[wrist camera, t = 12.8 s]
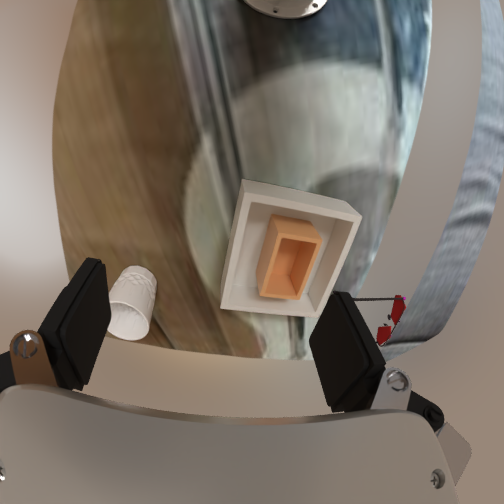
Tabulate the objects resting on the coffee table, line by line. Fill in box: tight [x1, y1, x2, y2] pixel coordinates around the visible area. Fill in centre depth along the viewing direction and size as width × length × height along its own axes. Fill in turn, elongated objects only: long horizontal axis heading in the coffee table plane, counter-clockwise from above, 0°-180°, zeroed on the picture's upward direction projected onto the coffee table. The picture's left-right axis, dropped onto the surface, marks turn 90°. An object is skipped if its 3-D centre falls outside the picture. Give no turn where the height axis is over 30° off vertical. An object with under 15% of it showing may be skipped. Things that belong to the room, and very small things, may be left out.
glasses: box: [333, 291, 406, 347], centre depth 51 cm, size 14×16×5 cm
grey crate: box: [220, 179, 362, 317], centre depth 39 cm, size 18×16×6 cm
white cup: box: [107, 266, 157, 340], centre depth 39 cm, size 8×8×10 cm
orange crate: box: [256, 214, 323, 300], centre depth 39 cm, size 10×6×6 cm, turn 168°
